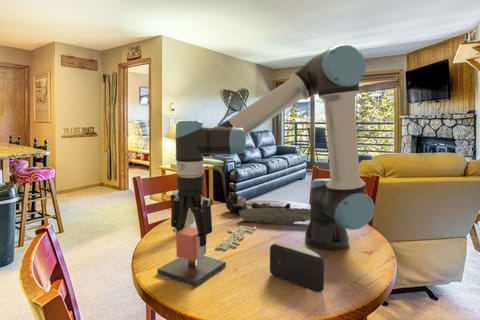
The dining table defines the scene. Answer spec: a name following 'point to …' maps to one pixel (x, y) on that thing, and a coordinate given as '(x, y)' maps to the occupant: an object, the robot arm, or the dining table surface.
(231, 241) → the decorative sign
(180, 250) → the salmon pink cube
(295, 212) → the stone fragment
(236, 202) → the figurine
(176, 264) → the gray slab
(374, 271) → the dining table surface
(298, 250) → the leaning round-cornered charcoal block
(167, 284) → the dining table surface
